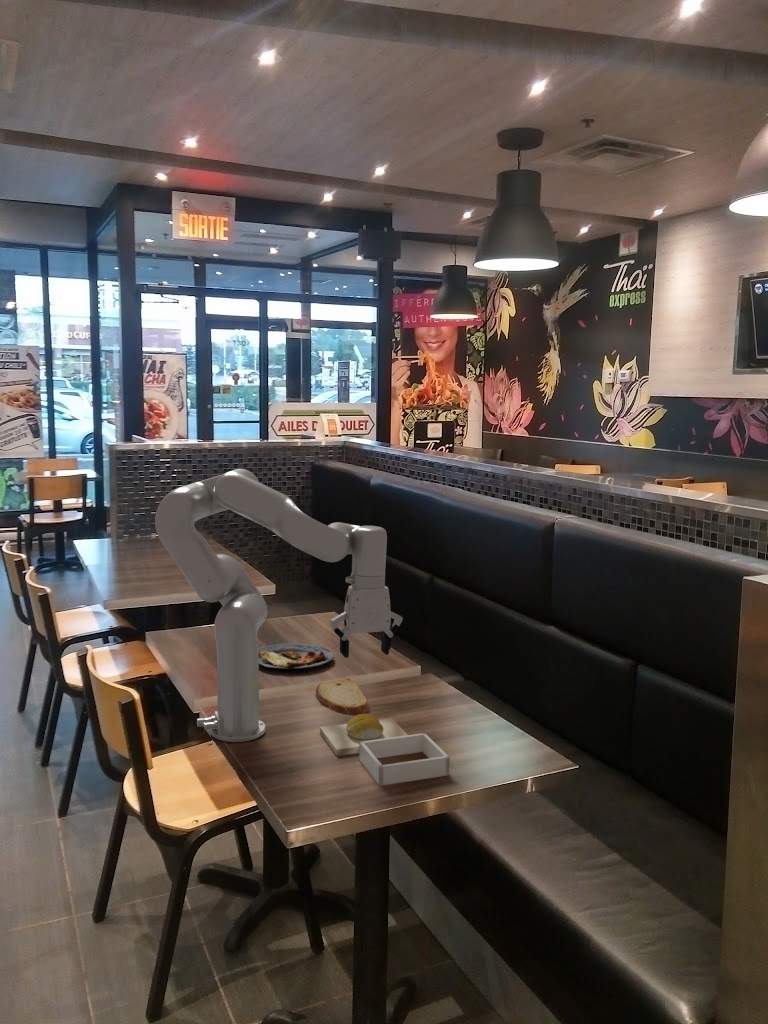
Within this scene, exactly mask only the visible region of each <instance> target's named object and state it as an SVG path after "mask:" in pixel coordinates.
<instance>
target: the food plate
mask: <svg viewBox="0 0 768 1024" xmlns="http://www.w3.org/2000/svg"><path fill="white" fill-rule="evenodd" d="M258 652H259V665H261V666H262V667H263V666H264V667H265V668H269V669H277V670H300V669H307V668H313V667H320V666H322V665H325V664H327V663H330V662H332V661H334V659H335V654H334V652H333V651H330V650H329V649H327V648H325V647H323V646H320V645H317V644H314V643H313V644H312V643H299V642H281V643H274V644H269V645H263V646H261V647H258ZM301 653H302V654H301ZM280 654H281V655H280Z"/></svg>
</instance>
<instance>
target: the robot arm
mask: <svg viewBox="0 0 768 1024" xmlns="http://www.w3.org/2000/svg"><path fill="white" fill-rule="evenodd" d="M228 510H230V511H231V512H233V513H235V514H238V515H239V516H241V517H243V518H245V519H248V520H250V521H252V522H254V523H256V524H258V525H260V526H262V527H264V528H265V529H268V530H270V531H272V532H273V533H274V534H275V535H277V536H278V537H280V538H281V539H283V540H284V541H286V542H287V543H288V544H290V545H291V546H293V547H295V549H298V550H299V551H302V552H304V553H306V554H308V555H310V556H312V557H315V558H317V559H319V560H321V561H324V562H328V563H336V562H340V561H341V560H342V559H344V558H345V557H347V555H352V562H351V573H350V575H349V576H346V577H345V583H348V584H350V585H349V586H348V588H347V592H346V596H345V603H344V607H343V612H342V613H340V614H338V615H336V616H335V617H333V618H331V619H330V620H329V625H330V627H331V629H332V631H333V632H334V633H335V634H336V636H338V637H339V652H340V654H341V655H342V657H343V658H345V659H347V658H349V655H350V653H349V652H350V641H349V637H350V636H351V634H364V633H365V634H366V633H378V632H379V633H381V632H383V633H382V635H381V641H380V642H381V644H380V645H381V648H380V651H381V652H382V653H383V654H384V655H386V656H387V655H389V654H390V650H391V646H392V645H391V644H392V638H393V636H394V634H395V633H396V632H397V631H398V630H399V628H400V626H401V624H402V622H403V619H404V618H403V616H402V615H399V614H397V613H395V612H394V611H391V599H390V598H391V596H390V590H389V587H388V586H386V584H385V583H386V566H387V565H386V564H387V563H386V562H387V544H388V535H387V531H386V529H385V528H383V527H382V526H376V525H361V526H360V525H355V524H350V523H346V522H339V521H338V522H337V521H336V522H332V523H330V524H328V525H327V524H324V523H322V522H320V521H319V520H317V519H314V518H312V517H310V516H309V515H307V514H306V513H304V511H302V510H301V509H299V508H298V506H297V505H296V504H295V502H294V500H293V499H292V498H291V497H289V496H288V495H286V494H285V493H282V492H280V491H278V490H276V489H274V488H271V487H270V486H267V485H265V484H263V483H261V482H260V481H259V479H258V477H257V476H256V475H255V473H253V472H252V471H250V470H247V469H243V468H237V469H233V470H230V471H227V472H224V473H223V474H220V475H217V476H212V477H210V478H206V479H204V480H200V481H195V482H193V483H190V484H187V485H183V486H180V487H177V488H175V489H172V490H170V491H169V492H168V493H167V494H166V495H165V496H163V498H162V500H161V501H160V502H159V504H158V506H157V509H156V513H155V517H154V521H155V522H154V525H155V526H154V527H155V530H156V533H157V536H158V538H159V540H160V542H161V544H162V545H163V547H164V549H166V551H167V553H168V554H169V555H170V557H171V558H172V560H173V561H174V562H175V564H176V566H177V567H178V569H179V570H180V572H181V573H182V575H183V576H184V577H185V579H186V581H187V582H188V584H189V585H190V586H191V588H192V590H193V591H194V593H195V594H196V595H197V597H198V598H199V599H200V600H202V601H203V602H205V603H216V602H220V604H221V605H222V606H221V608H220V609H219V610H218V612H217V614H216V616H215V619H214V623H213V625H214V627H213V628H214V631H213V632H214V638H215V646H216V666H217V667H216V669H217V672H216V673H217V675H216V677H217V678H216V679H217V681H216V682H217V684H216V685H217V689H216V690H217V710H215V711H214V715H210V717H199V718H196V726H197V727H199V728H200V727H203V729H204V730H210V735H211V736H212V737H214V739H217V740H219V741H223V742H227V743H242V742H243V743H245V742H248V741H254V740H256V739H258V738H260V737H262V736H263V735H264V734H265V733H266V724H265V722H264V721H262V720H260V664H259V652H258V648H259V644H258V630H259V629H260V628H261V626H262V625H263V624H264V622H265V621H266V619H267V615H268V606H267V603H266V601H265V599H264V596H263V595H262V594H261V592H260V591H259V589H258V588H257V586H256V585H255V583H254V582H253V580H252V579H251V577H250V576H249V575H248V573H247V572H246V570H245V569H244V567H243V566H242V564H241V563H240V562H239V561H238V560H237V559H235V558H234V557H232V556H230V555H227V554H222V553H220V554H216V553H215V551H214V550H213V549H212V547H211V546H210V543H209V542H208V541H207V539H206V538H205V537H204V536H203V535H202V534H201V533H200V532H199V531H198V530H197V529H196V527H195V523H196V522H197V521H199V520H202V519H203V518H205V517H209V516H212V515H214V514H219V513H221V512H225V511H228ZM392 619H393V623H392V621H391V620H392ZM342 622H343V623H342ZM340 623H342V624H343V628H341V629H340V628H339V624H340ZM391 623H392V624H391Z"/></svg>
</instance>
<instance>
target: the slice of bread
mask: <svg viewBox="0 0 768 1024" xmlns="http://www.w3.org/2000/svg"><path fill="white" fill-rule="evenodd" d="M315 697H316V699H317V700H318V702H319V703H320V704H322V705H324V707H326V708H328V709H330V710H333V711H334V712H338V713H342V714H347V715H359V714H369V713H370V707H369V701H368V699H367V696H366V695H365V692H364V691H362V689H361V687H359V685H358V684H357V683H356V682H355V681H354V680H352V679H351V678H349V677H348V678H346V677H345V678H341V679H338V680H335V681H333V682H329V683H326V682H325V683H324V682H320V683H318V685H317V686H316V689H315Z"/></svg>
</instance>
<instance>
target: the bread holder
mask: <svg viewBox="0 0 768 1024" xmlns="http://www.w3.org/2000/svg"><path fill="white" fill-rule="evenodd" d="M416 753H417V754H418V753H423V754H424V755H425V756H426V757H427V758H423V759H415V760H408V761H402V762H396V763H395V762H394V763H389V764H387V763H386V764H382V763H381V761H380V760H378V759H380V758H388V757H395V756H403V755H409V754H416ZM450 759H451V757H450V755H448V754H447V753H446V752H445V750H443V749H442V748H441V747H440V746H439V745H438V744H437V743H436V742H435V741H433V739H432V738H430V737H429V735H427V734H426V732H422V733H415V734H407V735H406V736H399V737H391V738H384V739H376V740H369V741H361V742H359V753H358V761H360V763H362V765H363V767H365V769H366V770H367V771H368V773H369V774H370V775H371V777H372V778H373V779H374V781H375V782H376V783H377V784H378V786H379V787H380V786H381V787H382V786H388V785H393V784H394V785H395V784H402V783H407V782H413V781H420V780H425V779H432V778H433V779H435V778H440V777H446V776H450V761H451V760H450Z"/></svg>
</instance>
